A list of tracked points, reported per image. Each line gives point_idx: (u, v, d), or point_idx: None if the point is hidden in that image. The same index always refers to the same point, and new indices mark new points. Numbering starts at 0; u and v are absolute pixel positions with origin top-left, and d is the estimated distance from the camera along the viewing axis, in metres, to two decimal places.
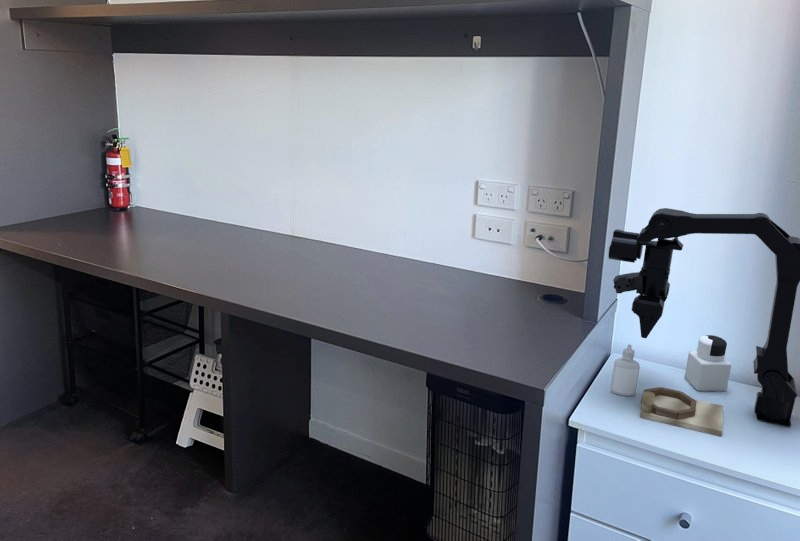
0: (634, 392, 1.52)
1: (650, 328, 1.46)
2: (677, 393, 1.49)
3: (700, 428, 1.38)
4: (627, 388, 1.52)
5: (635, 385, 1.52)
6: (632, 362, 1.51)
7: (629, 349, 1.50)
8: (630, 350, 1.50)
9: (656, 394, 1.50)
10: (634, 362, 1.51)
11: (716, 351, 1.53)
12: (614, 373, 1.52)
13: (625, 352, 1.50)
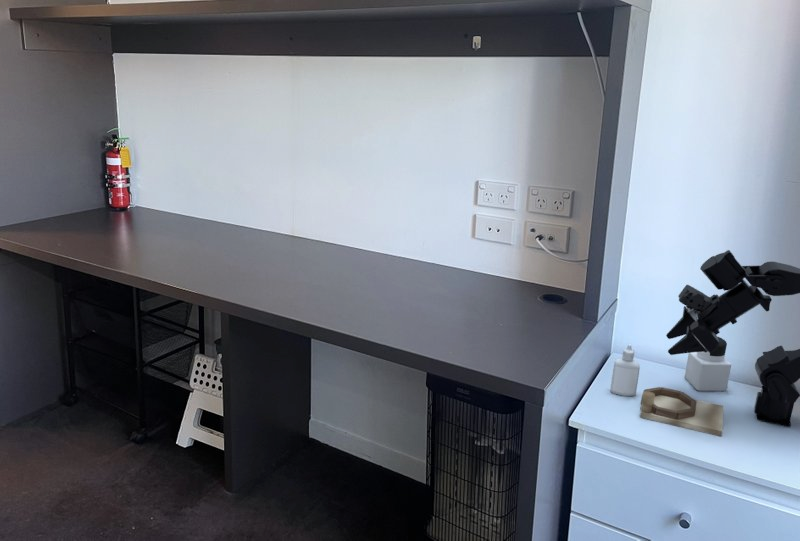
0: (634, 392, 1.52)
1: (684, 351, 1.41)
2: (677, 393, 1.49)
3: (700, 428, 1.38)
4: (627, 388, 1.52)
5: (635, 385, 1.52)
6: (632, 362, 1.51)
7: (629, 349, 1.50)
8: (630, 350, 1.50)
9: (656, 394, 1.50)
10: (634, 362, 1.51)
11: (716, 351, 1.53)
12: (614, 373, 1.52)
13: (625, 352, 1.50)
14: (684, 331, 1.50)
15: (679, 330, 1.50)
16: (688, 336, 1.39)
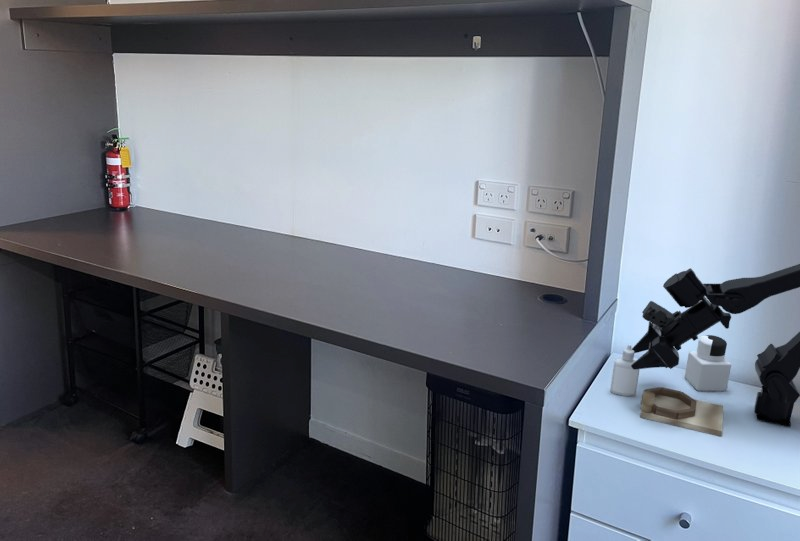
0: (634, 392, 1.52)
1: (646, 366, 1.45)
2: (677, 393, 1.49)
3: (700, 428, 1.38)
4: (627, 388, 1.52)
5: (635, 385, 1.52)
6: (632, 362, 1.51)
7: (629, 349, 1.50)
8: (630, 350, 1.50)
9: (656, 394, 1.50)
10: None
11: (716, 351, 1.53)
12: (614, 373, 1.52)
13: (625, 352, 1.50)
14: (649, 346, 1.54)
15: (644, 345, 1.54)
16: (650, 352, 1.43)
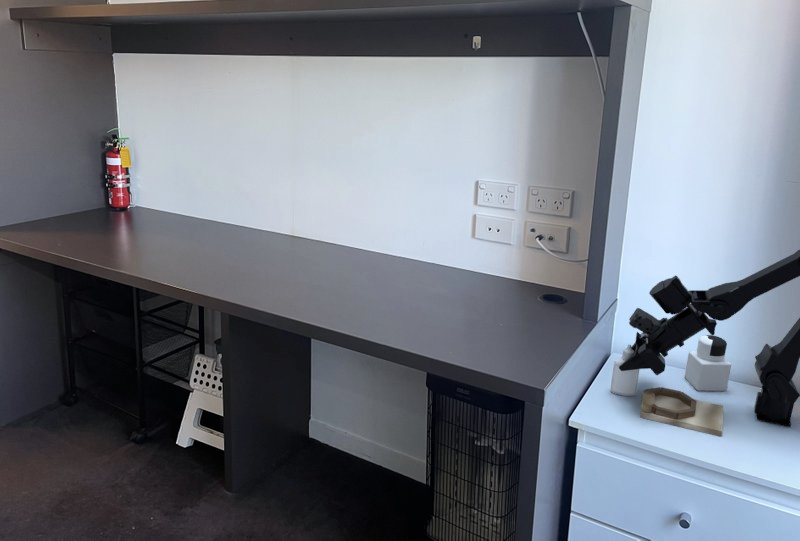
0: (634, 392, 1.52)
1: (633, 368, 1.49)
2: (677, 393, 1.49)
3: (700, 428, 1.38)
4: (627, 388, 1.52)
5: (635, 385, 1.52)
6: None
7: (629, 349, 1.50)
8: (630, 350, 1.50)
9: (656, 394, 1.50)
10: None
11: (716, 351, 1.53)
12: (614, 373, 1.52)
13: (625, 352, 1.50)
14: None
15: None
16: (637, 353, 1.47)
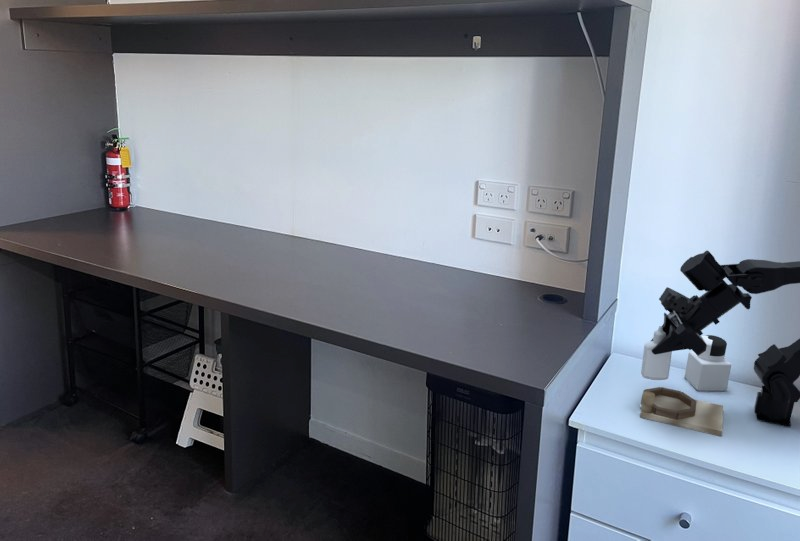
0: (667, 375, 1.45)
1: (668, 350, 1.42)
2: (677, 393, 1.49)
3: (700, 428, 1.38)
4: (660, 371, 1.45)
5: (668, 368, 1.45)
6: None
7: (660, 331, 1.43)
8: (662, 332, 1.43)
9: (656, 394, 1.50)
10: None
11: (716, 351, 1.53)
12: (646, 357, 1.45)
13: (657, 334, 1.43)
14: None
15: None
16: (672, 335, 1.40)
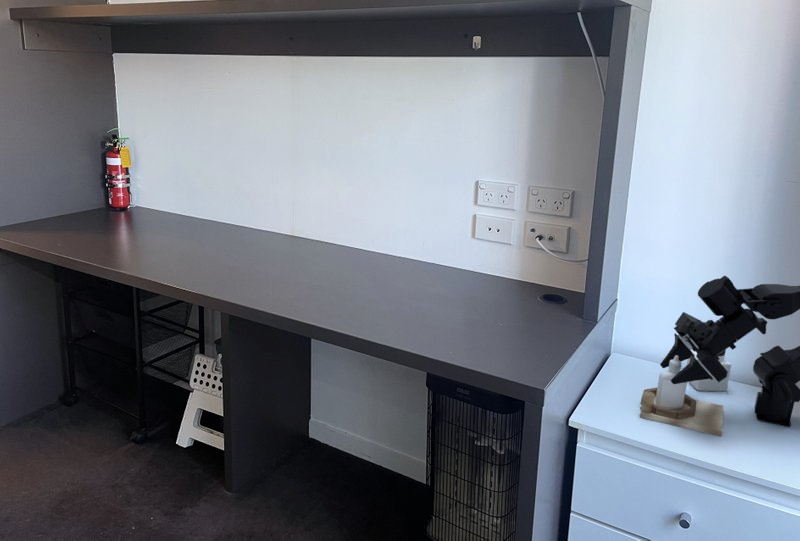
0: (682, 404, 1.45)
1: (688, 380, 1.39)
2: None
3: (700, 428, 1.38)
4: (676, 401, 1.44)
5: (683, 397, 1.44)
6: None
7: (676, 360, 1.42)
8: (678, 361, 1.42)
9: None
10: None
11: None
12: (662, 387, 1.44)
13: (673, 364, 1.42)
14: None
15: (673, 358, 1.47)
16: (693, 365, 1.37)
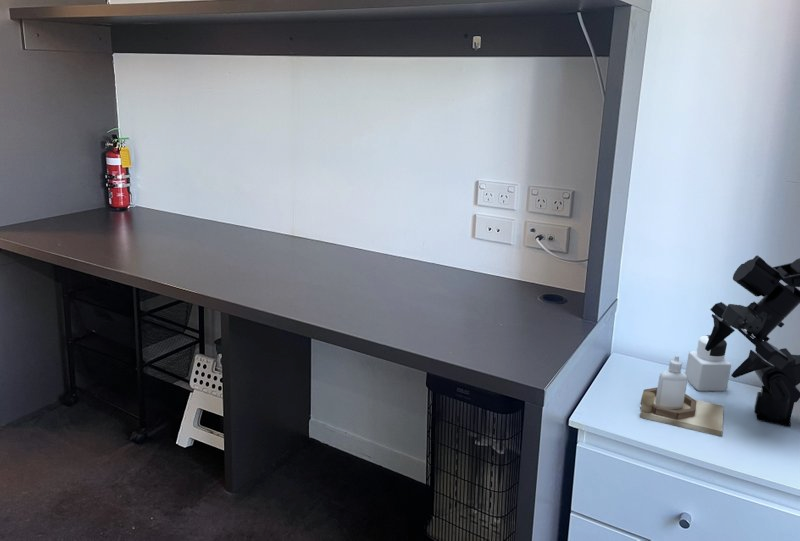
0: (682, 404, 1.45)
1: (748, 371, 1.38)
2: None
3: (700, 428, 1.38)
4: (676, 401, 1.44)
5: (683, 397, 1.44)
6: (680, 373, 1.43)
7: (677, 360, 1.42)
8: (678, 361, 1.42)
9: None
10: (682, 373, 1.43)
11: (716, 351, 1.53)
12: (662, 387, 1.44)
13: (673, 364, 1.42)
14: (720, 339, 1.46)
15: (716, 340, 1.46)
16: (755, 360, 1.35)
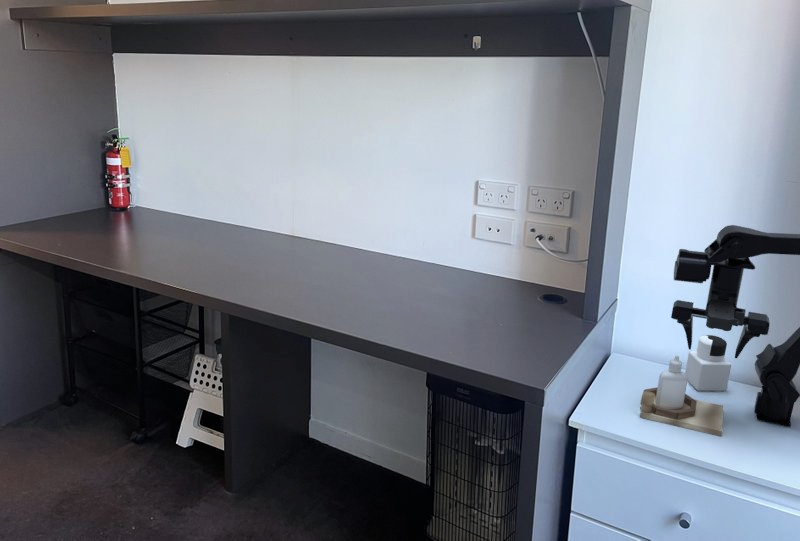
0: (682, 404, 1.45)
1: None
2: None
3: (700, 428, 1.38)
4: (676, 401, 1.44)
5: (683, 397, 1.44)
6: (680, 373, 1.43)
7: (677, 360, 1.42)
8: (678, 361, 1.42)
9: None
10: (682, 373, 1.43)
11: (716, 351, 1.53)
12: (662, 387, 1.44)
13: (673, 364, 1.42)
14: None
15: None
16: None
